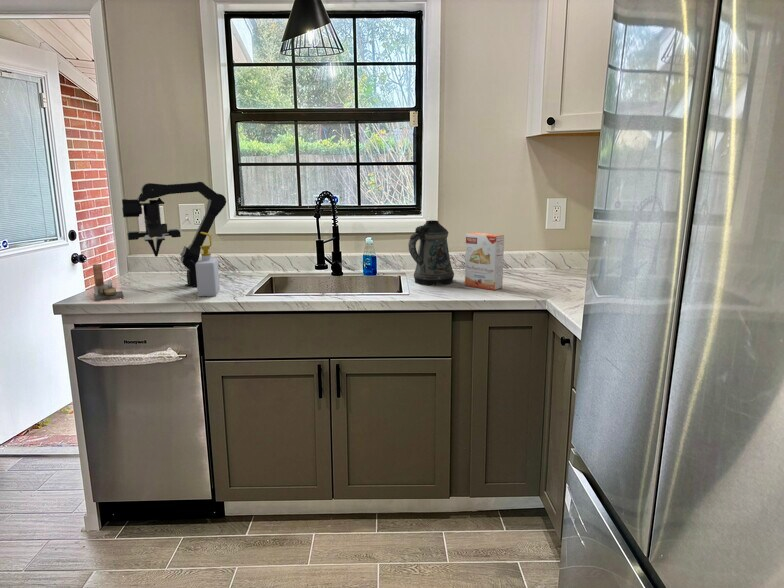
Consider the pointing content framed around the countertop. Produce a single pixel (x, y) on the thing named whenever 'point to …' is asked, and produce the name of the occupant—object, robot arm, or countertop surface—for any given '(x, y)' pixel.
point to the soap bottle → (207, 272)
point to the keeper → (99, 288)
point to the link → (101, 279)
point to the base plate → (109, 296)
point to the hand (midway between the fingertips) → (156, 256)
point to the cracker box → (484, 260)
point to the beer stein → (431, 255)
